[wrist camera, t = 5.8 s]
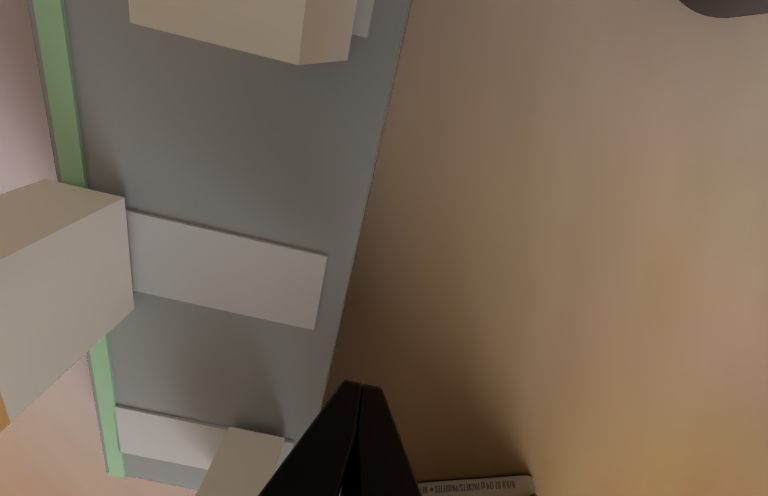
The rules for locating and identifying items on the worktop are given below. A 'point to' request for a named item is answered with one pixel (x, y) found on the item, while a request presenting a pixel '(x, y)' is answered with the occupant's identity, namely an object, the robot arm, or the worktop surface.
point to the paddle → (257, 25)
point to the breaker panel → (216, 219)
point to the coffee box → (481, 487)
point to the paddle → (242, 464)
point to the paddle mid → (57, 284)
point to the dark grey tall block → (727, 7)
